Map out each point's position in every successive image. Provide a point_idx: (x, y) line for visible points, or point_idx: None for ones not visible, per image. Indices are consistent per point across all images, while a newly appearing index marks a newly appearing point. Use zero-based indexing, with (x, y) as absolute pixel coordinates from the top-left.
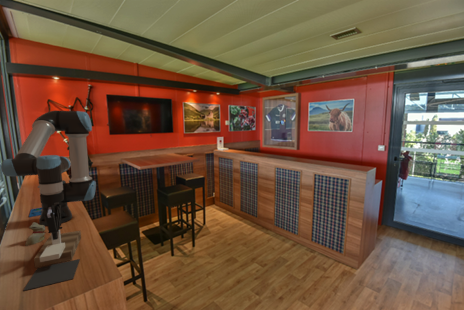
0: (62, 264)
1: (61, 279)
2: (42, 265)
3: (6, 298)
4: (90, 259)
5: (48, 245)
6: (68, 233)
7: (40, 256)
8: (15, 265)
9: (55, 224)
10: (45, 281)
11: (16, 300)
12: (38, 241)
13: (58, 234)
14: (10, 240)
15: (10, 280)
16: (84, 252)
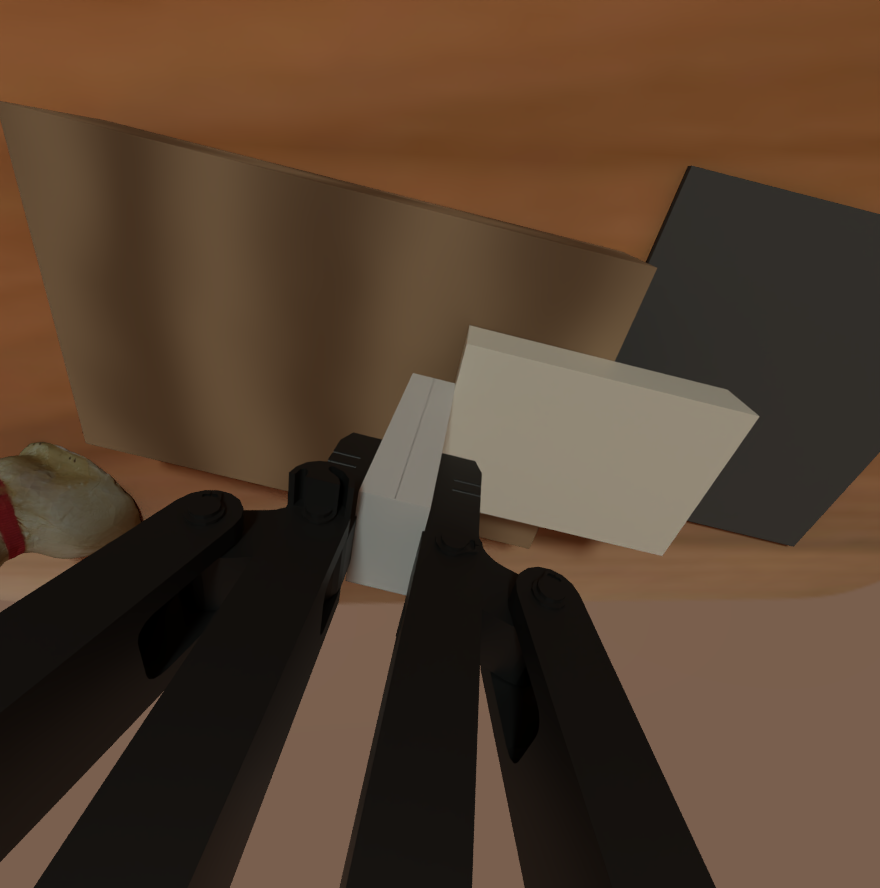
0: (655, 336)
1: None
2: None
3: (776, 593)
4: (811, 23)
5: None
6: (77, 275)
7: (646, 550)
8: None
9: (648, 823)
10: (822, 449)
11: (859, 563)
12: (101, 479)
13: (436, 477)
14: (36, 588)
15: (580, 584)
16: (544, 98)
